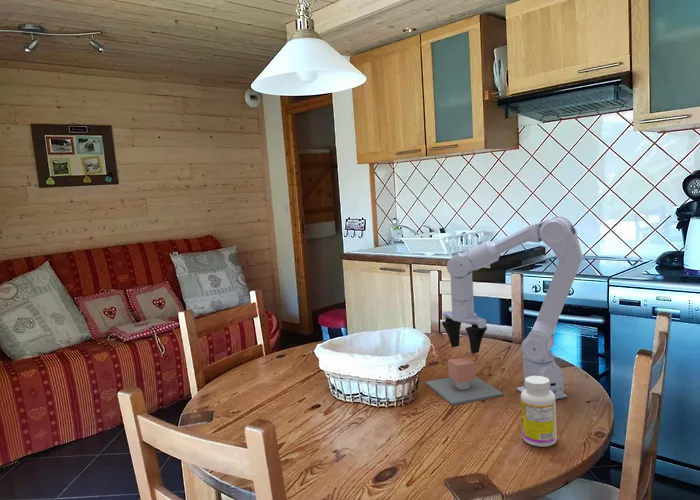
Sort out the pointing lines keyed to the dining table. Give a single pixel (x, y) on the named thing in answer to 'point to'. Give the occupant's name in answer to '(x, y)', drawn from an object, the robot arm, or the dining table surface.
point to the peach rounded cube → (462, 369)
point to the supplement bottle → (538, 412)
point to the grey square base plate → (463, 390)
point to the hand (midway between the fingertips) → (465, 349)
